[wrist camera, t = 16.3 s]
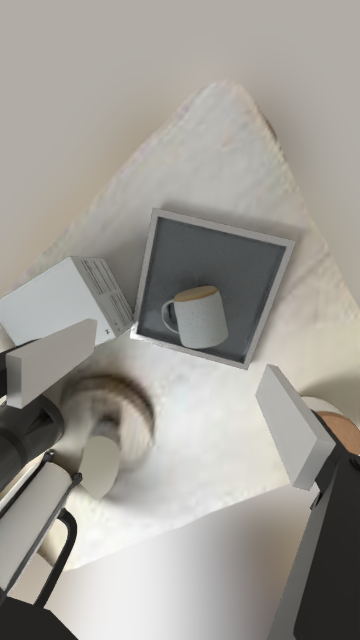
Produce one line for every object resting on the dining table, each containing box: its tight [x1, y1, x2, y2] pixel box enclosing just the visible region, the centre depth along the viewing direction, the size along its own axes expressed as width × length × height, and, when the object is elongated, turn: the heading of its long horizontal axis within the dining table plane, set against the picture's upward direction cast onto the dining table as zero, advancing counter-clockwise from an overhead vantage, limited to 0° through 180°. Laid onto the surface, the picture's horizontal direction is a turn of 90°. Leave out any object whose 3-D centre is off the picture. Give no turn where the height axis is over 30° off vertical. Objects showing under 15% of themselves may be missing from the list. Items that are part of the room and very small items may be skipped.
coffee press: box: [0, 451, 82, 608], centre depth 37 cm, size 17×16×30 cm
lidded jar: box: [301, 396, 360, 455], centre depth 34 cm, size 11×11×9 cm
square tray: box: [130, 208, 296, 370], centre depth 34 cm, size 22×22×2 cm
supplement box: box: [0, 256, 134, 347], centre depth 34 cm, size 17×13×9 cm
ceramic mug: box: [162, 286, 228, 349], centre depth 31 cm, size 11×8×8 cm
